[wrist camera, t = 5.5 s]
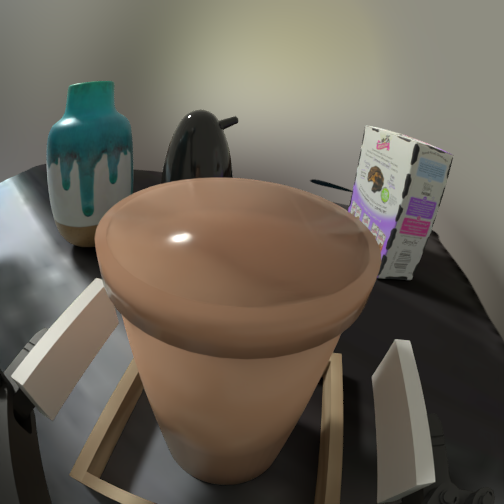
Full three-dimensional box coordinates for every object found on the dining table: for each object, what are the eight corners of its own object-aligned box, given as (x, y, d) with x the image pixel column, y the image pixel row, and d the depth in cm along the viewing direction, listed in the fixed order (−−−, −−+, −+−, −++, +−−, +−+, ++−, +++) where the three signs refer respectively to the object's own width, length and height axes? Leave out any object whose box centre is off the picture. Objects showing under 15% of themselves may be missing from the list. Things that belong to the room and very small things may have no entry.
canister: (144, 466, 12) (32, 265, 5) (183, 374, 18) (171, 169, 11) (276, 499, 11) (415, 349, 4) (291, 397, 18) (357, 198, 10)
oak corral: (83, 483, 10) (69, 475, 9) (161, 334, 21) (158, 317, 20) (322, 545, 8) (334, 544, 7) (333, 370, 20) (341, 353, 19)
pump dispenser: (241, 225, 40) (253, 114, 32) (166, 232, 36) (166, 112, 28) (220, 199, 48) (227, 109, 40) (158, 204, 44) (159, 108, 36)
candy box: (413, 281, 32) (456, 154, 23) (374, 280, 31) (416, 140, 23) (374, 231, 43) (398, 132, 35) (341, 227, 43) (364, 122, 35)
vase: (111, 268, 28) (105, 77, 18) (42, 253, 28) (27, 91, 18) (147, 226, 37) (152, 81, 28) (85, 218, 37) (82, 87, 28)
